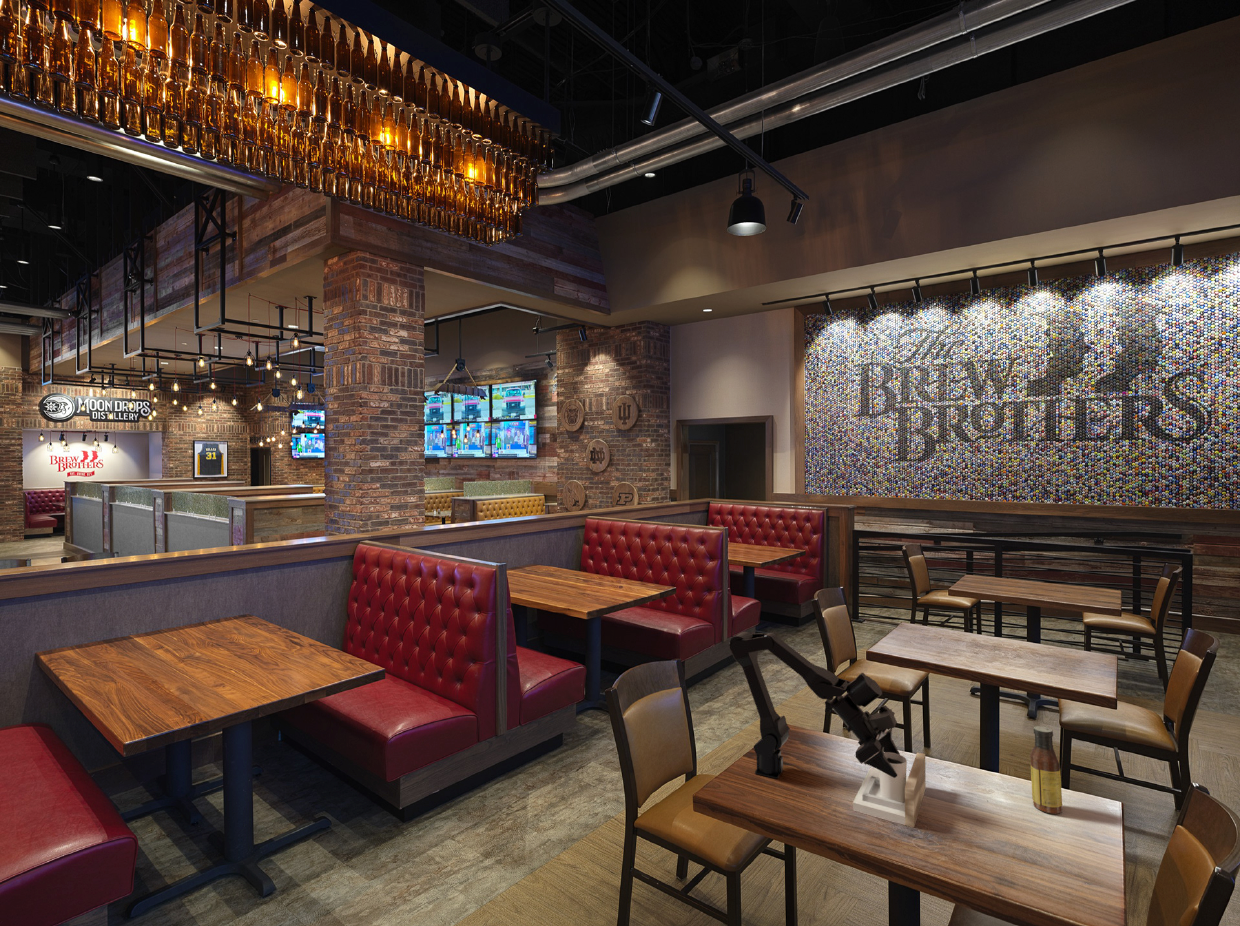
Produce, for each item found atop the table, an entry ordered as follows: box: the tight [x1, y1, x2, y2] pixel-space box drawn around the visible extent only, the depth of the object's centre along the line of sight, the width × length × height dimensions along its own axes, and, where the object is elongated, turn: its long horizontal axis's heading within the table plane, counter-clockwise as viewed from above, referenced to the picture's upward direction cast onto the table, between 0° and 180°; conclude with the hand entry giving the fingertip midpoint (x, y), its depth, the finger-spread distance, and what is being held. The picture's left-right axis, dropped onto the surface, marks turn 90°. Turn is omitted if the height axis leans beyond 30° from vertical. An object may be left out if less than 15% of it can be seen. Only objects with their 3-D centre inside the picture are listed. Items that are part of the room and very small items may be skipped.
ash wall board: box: [904, 752, 927, 828], centre depth 158 cm, size 2×22×9 cm, turn 147°
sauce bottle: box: [1030, 725, 1063, 815], centre depth 157 cm, size 7×6×20 cm
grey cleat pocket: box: [852, 766, 909, 826], centre depth 162 cm, size 12×22×4 cm, turn 147°
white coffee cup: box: [879, 752, 908, 803], centre depth 159 cm, size 7×7×10 cm
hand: (899, 769), depth 158 cm, fingers open, 9 cm apart
